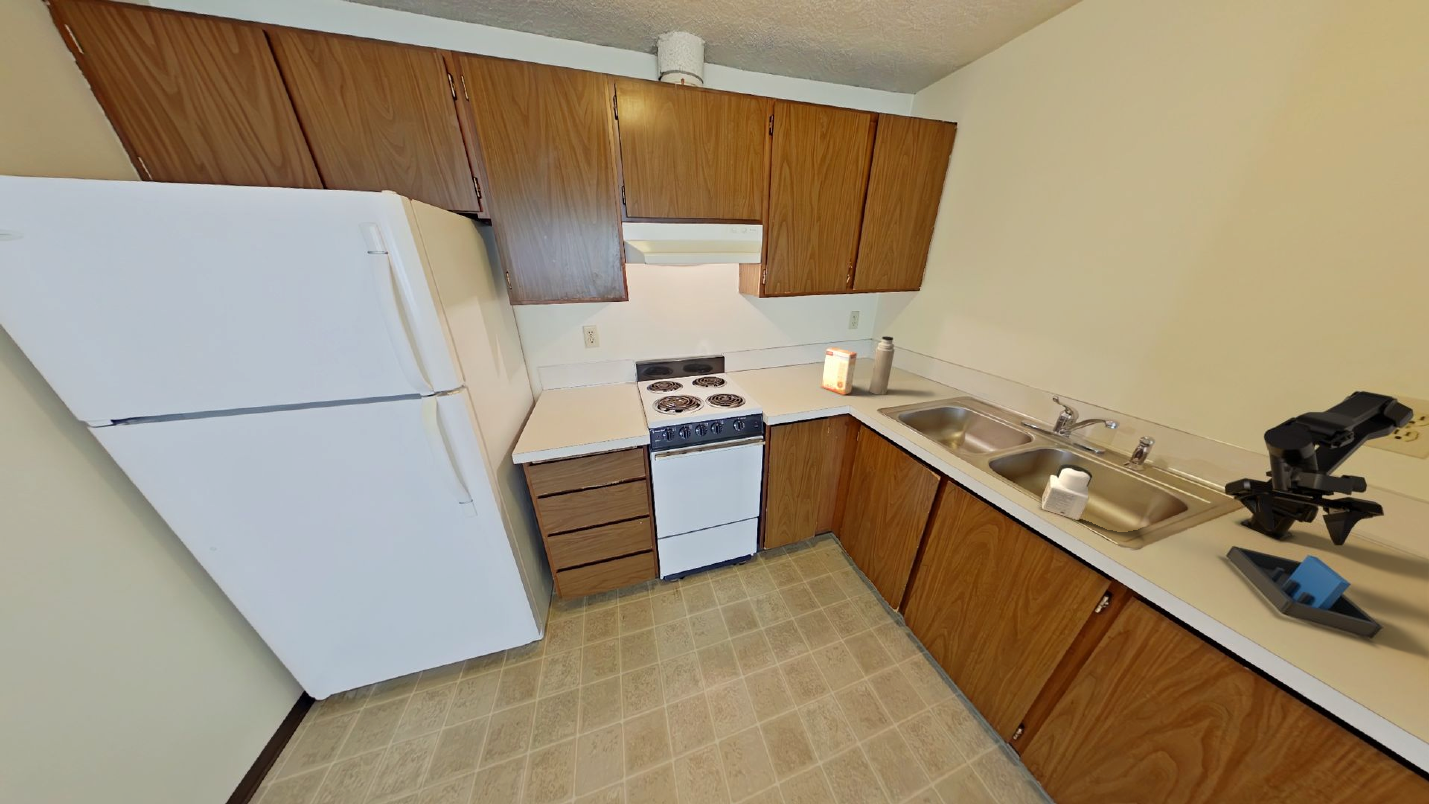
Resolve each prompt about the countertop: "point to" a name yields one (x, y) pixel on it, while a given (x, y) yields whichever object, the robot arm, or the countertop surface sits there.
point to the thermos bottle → (882, 366)
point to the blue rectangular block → (1318, 583)
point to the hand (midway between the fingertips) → (1303, 537)
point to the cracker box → (839, 370)
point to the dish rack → (1274, 574)
